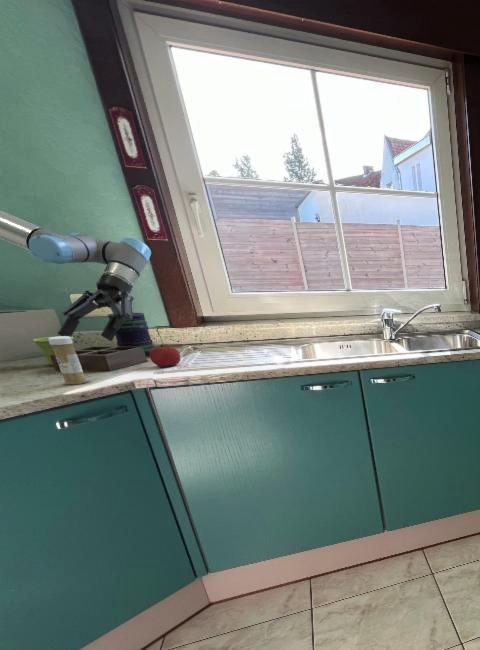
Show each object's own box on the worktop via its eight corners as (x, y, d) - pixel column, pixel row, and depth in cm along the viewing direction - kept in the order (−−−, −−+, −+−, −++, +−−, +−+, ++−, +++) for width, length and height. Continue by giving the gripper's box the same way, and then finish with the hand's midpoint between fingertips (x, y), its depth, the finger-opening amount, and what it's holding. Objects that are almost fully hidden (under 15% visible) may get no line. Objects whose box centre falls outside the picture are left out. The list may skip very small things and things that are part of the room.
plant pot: (36, 368, 160) (25, 341, 157) (52, 362, 168) (42, 336, 164) (74, 366, 163) (64, 340, 160) (88, 360, 171) (79, 335, 168)
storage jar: (163, 354, 184) (151, 313, 179) (135, 359, 175) (121, 316, 170) (143, 352, 186) (130, 312, 181) (114, 357, 177) (99, 314, 172)
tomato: (154, 364, 168) (147, 343, 165) (183, 362, 172) (177, 342, 170) (151, 369, 162) (144, 347, 159) (182, 366, 166) (175, 345, 164)
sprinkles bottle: (61, 384, 142) (42, 337, 137) (78, 380, 146) (61, 335, 142) (74, 385, 142) (56, 338, 137) (91, 381, 146) (75, 336, 141)
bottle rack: (55, 370, 157) (49, 355, 155) (97, 360, 172) (92, 346, 170) (110, 371, 159) (104, 355, 157) (147, 361, 173) (142, 346, 171)
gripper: (164, 291, 157) (135, 346, 148) (91, 288, 158) (59, 343, 150) (143, 274, 150) (112, 330, 141) (67, 271, 151) (32, 327, 143)
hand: (84, 337), depth 146 cm, fingers open, 13 cm apart
